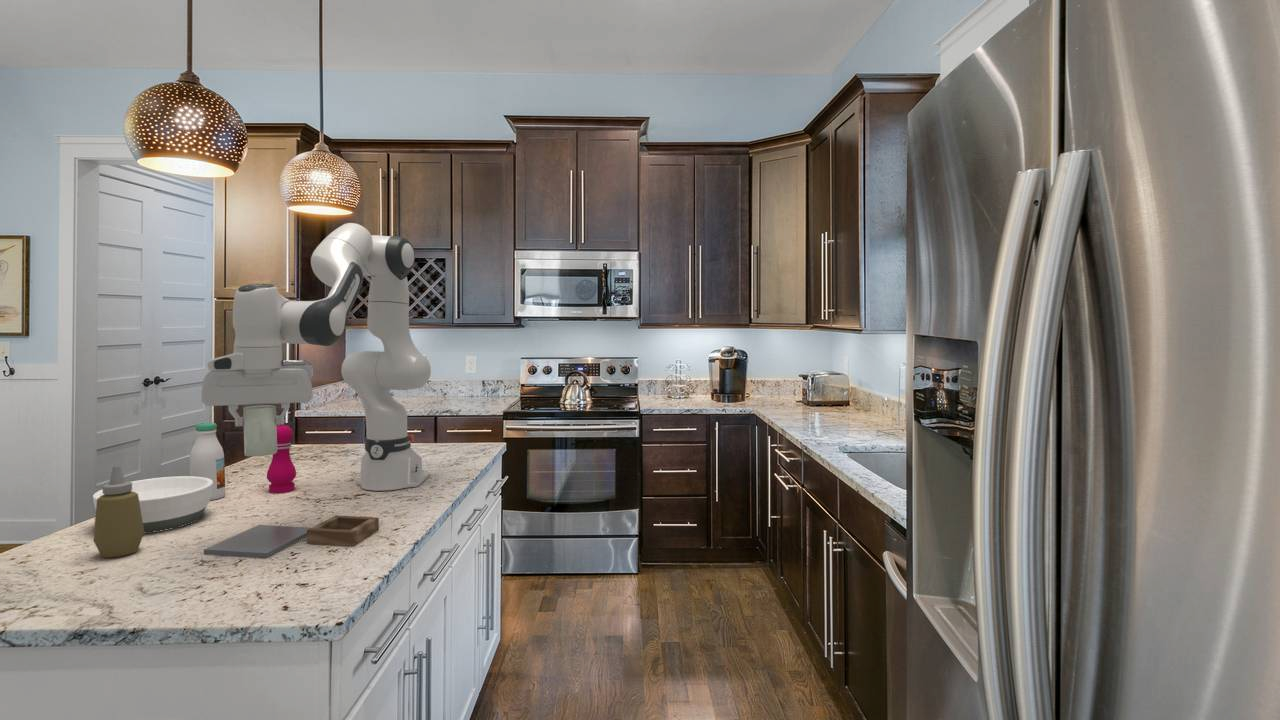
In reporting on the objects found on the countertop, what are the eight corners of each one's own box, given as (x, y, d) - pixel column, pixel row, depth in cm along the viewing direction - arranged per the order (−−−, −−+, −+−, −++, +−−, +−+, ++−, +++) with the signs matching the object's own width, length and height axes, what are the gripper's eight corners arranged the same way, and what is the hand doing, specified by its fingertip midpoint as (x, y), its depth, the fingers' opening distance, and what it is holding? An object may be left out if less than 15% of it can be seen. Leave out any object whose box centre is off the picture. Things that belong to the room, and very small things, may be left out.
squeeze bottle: (102, 549, 132) (99, 463, 131) (150, 544, 136) (147, 460, 134) (87, 563, 125) (83, 472, 124) (137, 557, 128) (134, 469, 127)
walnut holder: (336, 528, 147) (335, 515, 147) (378, 530, 146) (378, 517, 146) (307, 543, 137) (306, 530, 137) (352, 546, 136) (352, 532, 136)
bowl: (71, 542, 136) (70, 504, 136) (123, 511, 158) (122, 478, 157) (193, 533, 143) (192, 497, 142) (227, 505, 164) (226, 473, 164)
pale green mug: (247, 451, 138) (245, 405, 137) (278, 449, 140) (277, 404, 139) (239, 459, 130) (238, 411, 129) (273, 457, 132) (272, 409, 132)
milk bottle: (208, 502, 166) (205, 426, 165) (183, 500, 168) (180, 425, 166) (232, 495, 174) (230, 422, 172) (208, 493, 175) (206, 421, 174)
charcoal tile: (259, 528, 146) (259, 524, 146) (316, 532, 144) (316, 527, 144) (203, 554, 130) (203, 549, 130) (266, 558, 129) (266, 553, 129)
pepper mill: (287, 494, 175) (285, 421, 174) (261, 493, 175) (259, 421, 174) (301, 487, 182) (300, 417, 181) (276, 486, 182) (275, 417, 181)
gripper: (314, 358, 142) (315, 420, 143) (205, 360, 134) (207, 425, 135) (312, 360, 136) (313, 424, 137) (198, 362, 128) (200, 430, 129)
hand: (260, 425), depth 136 cm, fingers closed on pale green mug, 6 cm apart
